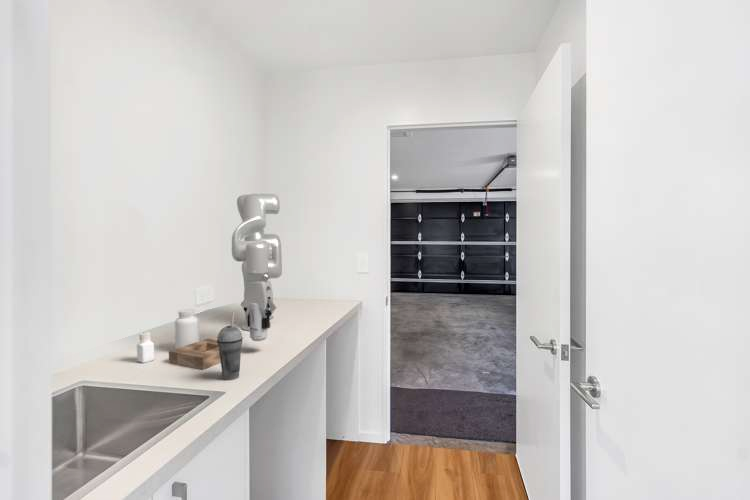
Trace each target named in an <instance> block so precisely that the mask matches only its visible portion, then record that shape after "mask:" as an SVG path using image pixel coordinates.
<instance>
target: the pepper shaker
mask: <svg viewBox="0 0 750 500" xmlns="http://www.w3.org/2000/svg"><path fill="white" fill-rule="evenodd" d="M138 336H139V342H138V343H137V344H136V357H137V359H136V360H137V362H139V363H141V364H145V363H149V362H151V361H154V360H155V343H154V341H151V337H152V336H151V332H149V331H148V332H145V331H144V332H140V333H139V335H138Z"/></svg>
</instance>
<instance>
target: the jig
mask: <svg viewBox="0 0 750 500" xmlns="http://www.w3.org/2000/svg"><path fill="white" fill-rule="evenodd" d="M168 362H169V364H174V365H178V366H183V367H188V368H192V369H198V370H202V371H203V370H205V369H206V370H207V369H209V368H211V367H213V366H216V365H218V364H221V360H220V352H219V347H218V342H217V339H214V338H206V339H201V340H199V342H196V343H192V344H189V345H186V346H183V347H180V348H177V349H176V348H174V349H171V350H168Z"/></svg>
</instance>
